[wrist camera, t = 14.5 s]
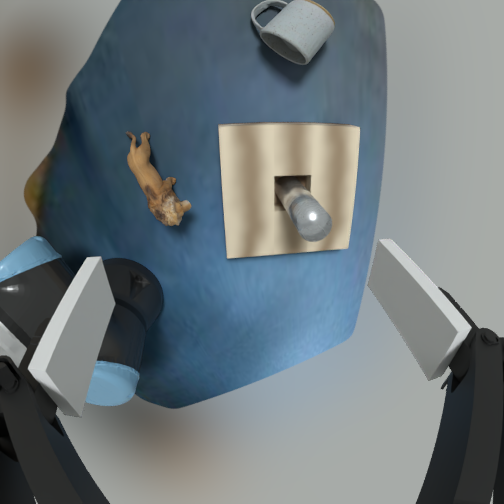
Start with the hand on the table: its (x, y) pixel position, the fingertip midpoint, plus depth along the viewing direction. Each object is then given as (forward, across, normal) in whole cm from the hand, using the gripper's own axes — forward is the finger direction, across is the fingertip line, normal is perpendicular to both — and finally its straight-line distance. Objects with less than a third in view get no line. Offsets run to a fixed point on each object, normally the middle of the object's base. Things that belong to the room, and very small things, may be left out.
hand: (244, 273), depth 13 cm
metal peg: (+31, +10, -6) cm, 33 cm away
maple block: (+32, +10, -6) cm, 34 cm away
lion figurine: (+33, -10, -3) cm, 34 cm away
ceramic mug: (+33, +9, +18) cm, 39 cm away
